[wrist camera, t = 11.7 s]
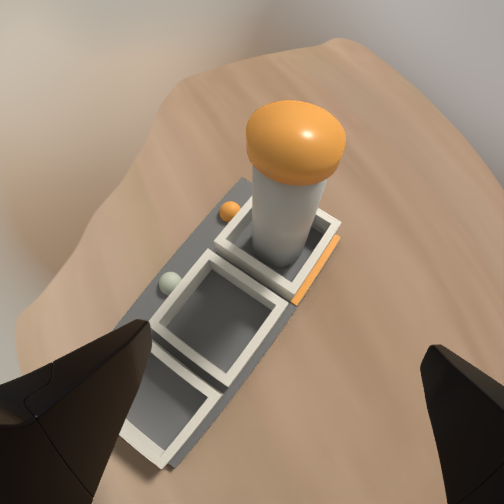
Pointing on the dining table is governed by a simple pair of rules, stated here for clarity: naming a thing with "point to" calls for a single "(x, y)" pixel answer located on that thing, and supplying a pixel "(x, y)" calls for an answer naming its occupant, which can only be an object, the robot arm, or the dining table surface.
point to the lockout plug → (289, 174)
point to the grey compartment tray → (213, 323)
